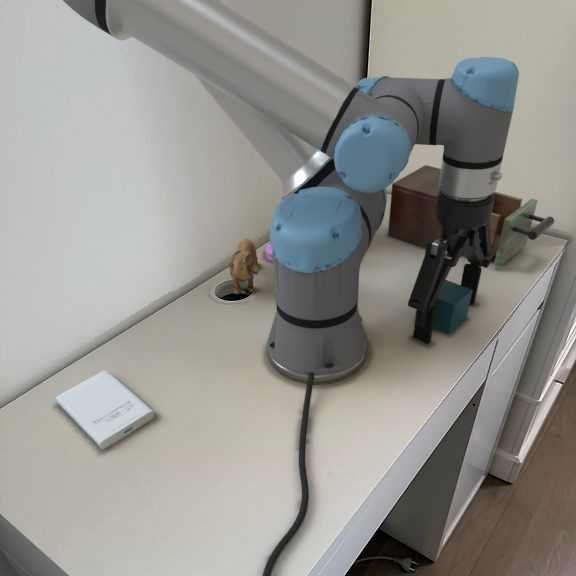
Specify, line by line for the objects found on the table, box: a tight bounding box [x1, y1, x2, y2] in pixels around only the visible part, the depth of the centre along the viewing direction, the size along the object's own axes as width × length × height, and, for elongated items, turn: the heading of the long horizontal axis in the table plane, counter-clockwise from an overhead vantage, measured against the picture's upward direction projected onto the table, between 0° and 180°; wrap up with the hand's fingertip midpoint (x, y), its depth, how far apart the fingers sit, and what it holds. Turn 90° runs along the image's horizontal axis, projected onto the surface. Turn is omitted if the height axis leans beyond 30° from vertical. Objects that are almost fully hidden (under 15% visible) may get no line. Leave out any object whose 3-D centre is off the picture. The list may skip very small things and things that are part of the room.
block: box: [433, 279, 472, 335], centre depth 86 cm, size 6×6×6 cm
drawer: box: [485, 191, 555, 268], centre depth 99 cm, size 17×10×9 cm, turn 47°
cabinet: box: [387, 164, 443, 249], centre depth 106 cm, size 14×12×11 cm
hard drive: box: [55, 369, 156, 450], centre depth 75 cm, size 2×8×12 cm
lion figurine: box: [228, 238, 262, 295], centre depth 96 cm, size 15×5×9 cm, turn 6°
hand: (444, 319), depth 88 cm, fingers open, 13 cm apart
